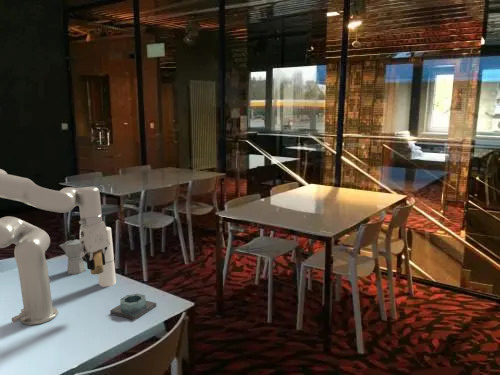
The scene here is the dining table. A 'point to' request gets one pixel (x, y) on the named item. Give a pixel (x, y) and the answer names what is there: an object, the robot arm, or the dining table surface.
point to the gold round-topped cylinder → (97, 262)
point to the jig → (133, 306)
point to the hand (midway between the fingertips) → (96, 266)
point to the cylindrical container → (108, 265)
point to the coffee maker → (73, 256)
